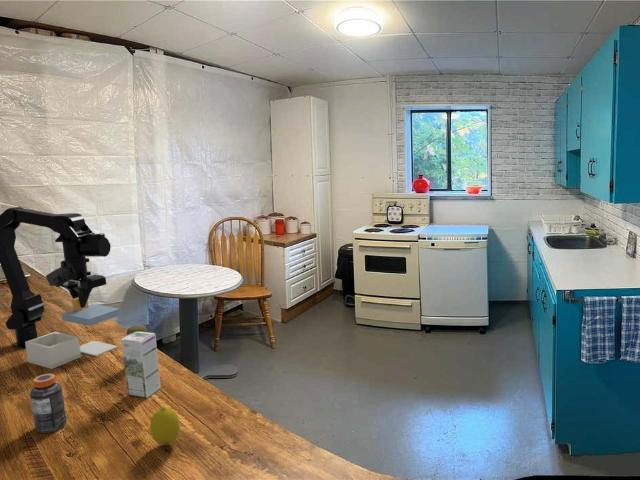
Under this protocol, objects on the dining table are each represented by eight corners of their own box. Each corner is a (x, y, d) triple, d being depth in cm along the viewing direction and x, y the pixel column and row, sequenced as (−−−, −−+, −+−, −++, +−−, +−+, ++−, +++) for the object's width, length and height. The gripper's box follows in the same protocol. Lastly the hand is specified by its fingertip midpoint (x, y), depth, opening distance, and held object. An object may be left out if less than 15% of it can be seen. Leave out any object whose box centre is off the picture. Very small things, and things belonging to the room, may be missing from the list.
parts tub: (27, 362, 141) (25, 342, 140) (57, 350, 149) (55, 331, 148) (51, 368, 136) (48, 348, 135) (81, 356, 143) (78, 337, 142)
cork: (144, 369, 133) (140, 330, 131) (123, 368, 134) (119, 330, 132) (155, 360, 139) (152, 323, 137) (136, 359, 140) (132, 322, 138)
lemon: (156, 438, 100) (152, 401, 99) (183, 435, 101) (180, 399, 99) (149, 454, 95) (145, 415, 93) (178, 451, 95) (175, 413, 94)
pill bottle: (59, 416, 110) (53, 368, 108) (71, 424, 106) (65, 375, 104) (30, 428, 106) (23, 378, 104) (42, 437, 102) (35, 386, 100)
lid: (62, 320, 146) (60, 301, 145) (93, 310, 155) (91, 292, 154) (89, 325, 140) (87, 306, 139) (120, 315, 149) (118, 297, 148)
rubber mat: (72, 350, 148) (71, 349, 148) (94, 341, 155) (93, 340, 155) (96, 356, 143) (96, 355, 143) (117, 347, 150) (117, 346, 150)
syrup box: (161, 387, 122) (156, 331, 120) (146, 399, 117) (140, 340, 114) (142, 385, 124) (137, 329, 121) (126, 396, 118) (120, 338, 116)
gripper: (29, 259, 144) (36, 310, 147) (69, 264, 135) (76, 319, 138) (64, 252, 154) (70, 300, 156) (104, 256, 145) (110, 307, 147)
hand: (80, 306), depth 149 cm, fingers closed on lid
